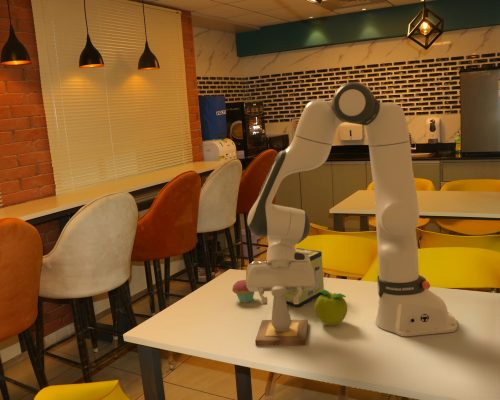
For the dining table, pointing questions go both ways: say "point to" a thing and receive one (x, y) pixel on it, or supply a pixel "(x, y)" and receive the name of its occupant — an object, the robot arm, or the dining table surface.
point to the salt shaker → (280, 310)
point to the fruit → (331, 308)
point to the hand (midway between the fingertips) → (280, 303)
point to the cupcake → (243, 291)
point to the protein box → (318, 276)
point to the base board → (282, 334)
